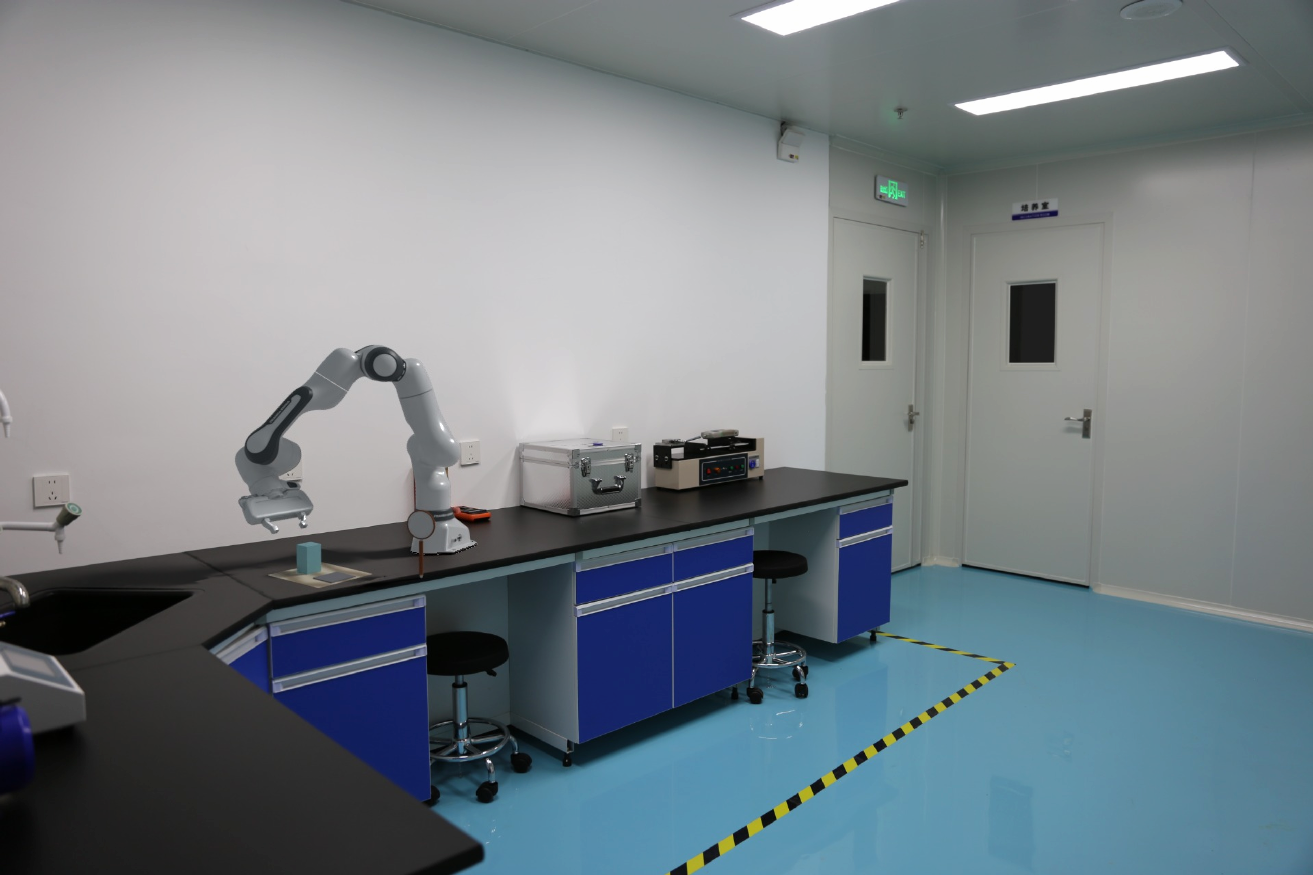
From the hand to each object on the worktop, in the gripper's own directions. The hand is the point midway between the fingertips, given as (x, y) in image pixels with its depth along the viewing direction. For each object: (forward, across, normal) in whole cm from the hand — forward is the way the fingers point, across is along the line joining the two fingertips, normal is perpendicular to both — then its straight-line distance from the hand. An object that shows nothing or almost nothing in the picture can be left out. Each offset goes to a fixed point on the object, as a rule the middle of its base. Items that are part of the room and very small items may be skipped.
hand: (290, 529), depth 244 cm
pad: (+21, 0, -6) cm, 22 cm away
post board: (+18, 0, 0) cm, 18 cm away
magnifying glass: (+33, +18, -15) cm, 41 cm away
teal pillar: (+14, 0, +2) cm, 14 cm away
